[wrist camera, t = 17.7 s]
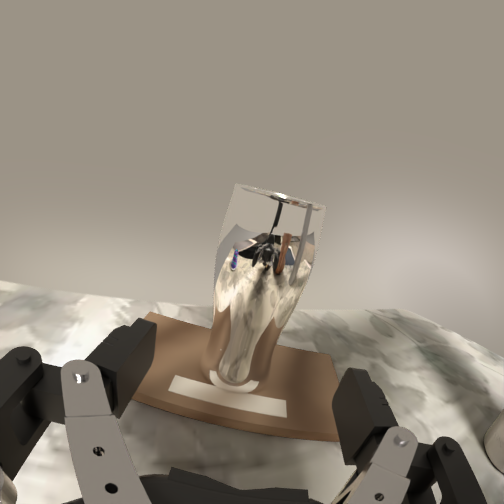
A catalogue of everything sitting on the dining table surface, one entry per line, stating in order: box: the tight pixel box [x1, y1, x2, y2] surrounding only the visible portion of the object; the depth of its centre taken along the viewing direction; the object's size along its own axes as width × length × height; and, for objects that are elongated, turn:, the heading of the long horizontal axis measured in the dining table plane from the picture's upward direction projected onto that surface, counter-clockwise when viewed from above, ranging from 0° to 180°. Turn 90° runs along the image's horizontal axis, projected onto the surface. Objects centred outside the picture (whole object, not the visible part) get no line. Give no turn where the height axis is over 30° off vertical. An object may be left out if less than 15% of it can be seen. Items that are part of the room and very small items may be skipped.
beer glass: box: [200, 184, 326, 393], centre depth 22 cm, size 7×7×15 cm
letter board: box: [132, 312, 340, 442], centre depth 24 cm, size 20×12×1 cm, turn 87°
